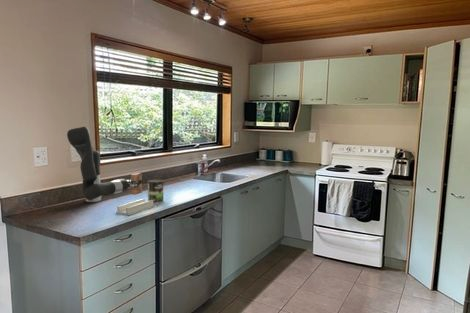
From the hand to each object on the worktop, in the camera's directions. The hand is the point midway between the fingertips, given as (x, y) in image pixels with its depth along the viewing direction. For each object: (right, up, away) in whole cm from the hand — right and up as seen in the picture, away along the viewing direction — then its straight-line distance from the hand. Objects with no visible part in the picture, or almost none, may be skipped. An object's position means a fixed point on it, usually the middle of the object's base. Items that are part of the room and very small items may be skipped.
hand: (138, 181), depth 208 cm
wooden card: (-1, -7, -1) cm, 7 cm away
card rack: (-2, -17, 0) cm, 17 cm away
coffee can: (+6, -15, +19) cm, 25 cm away
